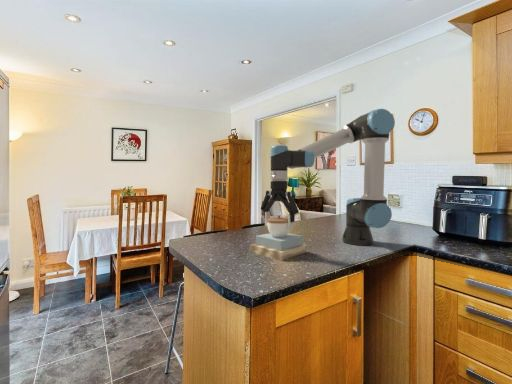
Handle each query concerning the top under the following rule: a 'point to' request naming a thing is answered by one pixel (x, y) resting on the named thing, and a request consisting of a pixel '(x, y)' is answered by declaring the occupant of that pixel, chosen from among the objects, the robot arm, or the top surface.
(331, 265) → the top surface
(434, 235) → the top surface
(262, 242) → the tower top
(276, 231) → the lidded jar
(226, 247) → the top surface
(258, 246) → the tower base
